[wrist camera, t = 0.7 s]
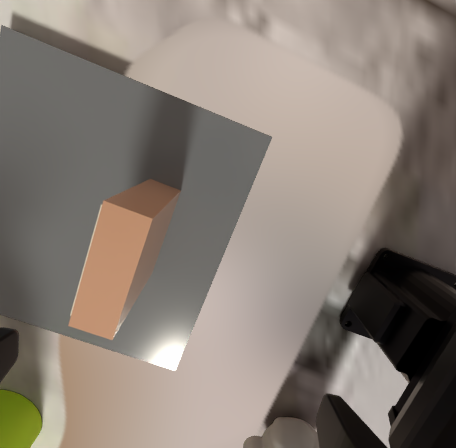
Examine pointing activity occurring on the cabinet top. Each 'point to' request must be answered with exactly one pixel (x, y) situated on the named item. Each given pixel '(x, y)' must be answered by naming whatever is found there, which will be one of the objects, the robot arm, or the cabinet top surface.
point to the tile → (122, 256)
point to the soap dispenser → (18, 421)
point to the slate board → (110, 191)
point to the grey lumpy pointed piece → (285, 435)
